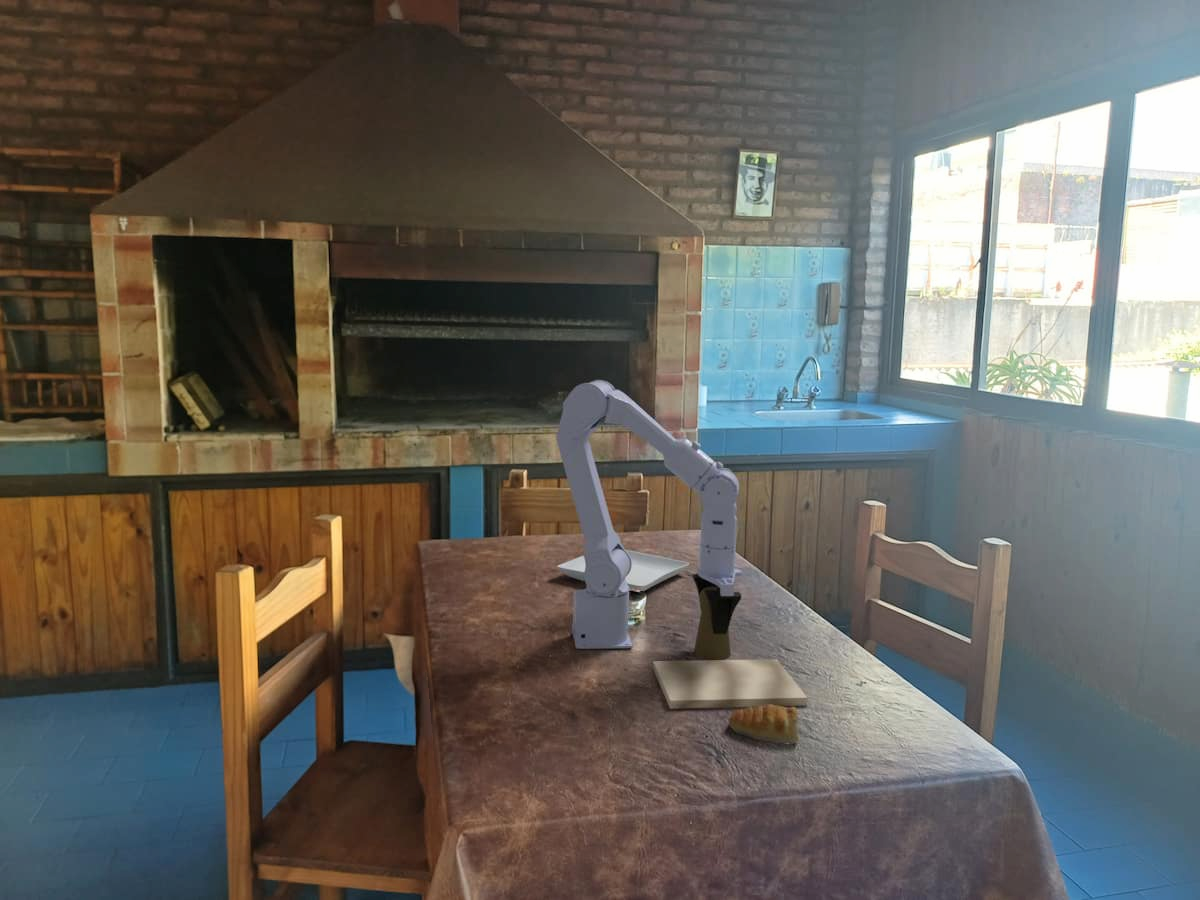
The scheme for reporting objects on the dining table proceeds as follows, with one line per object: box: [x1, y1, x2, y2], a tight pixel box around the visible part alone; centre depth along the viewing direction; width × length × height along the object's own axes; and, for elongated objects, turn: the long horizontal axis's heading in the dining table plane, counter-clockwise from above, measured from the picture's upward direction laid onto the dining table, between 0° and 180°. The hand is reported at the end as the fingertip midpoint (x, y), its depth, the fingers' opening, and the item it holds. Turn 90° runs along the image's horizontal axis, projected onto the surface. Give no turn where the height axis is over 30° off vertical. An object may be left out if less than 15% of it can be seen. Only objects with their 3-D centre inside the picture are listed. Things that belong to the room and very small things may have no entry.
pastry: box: [728, 704, 800, 745], centre depth 115 cm, size 9×7×4 cm
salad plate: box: [556, 549, 690, 592], centre depth 182 cm, size 21×21×3 cm
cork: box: [693, 587, 732, 660], centre depth 141 cm, size 6×6×11 cm
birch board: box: [652, 658, 808, 710], centre depth 128 cm, size 20×14×1 cm
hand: (714, 624), depth 141 cm, fingers open, 7 cm apart
